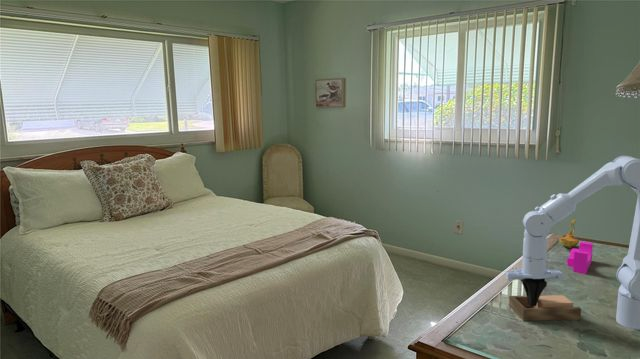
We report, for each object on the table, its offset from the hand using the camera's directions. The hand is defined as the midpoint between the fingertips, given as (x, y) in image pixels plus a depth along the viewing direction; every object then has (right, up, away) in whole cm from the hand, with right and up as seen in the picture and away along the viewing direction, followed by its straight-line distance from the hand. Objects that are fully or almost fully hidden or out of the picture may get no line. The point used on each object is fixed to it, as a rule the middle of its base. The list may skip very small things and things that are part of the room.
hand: (532, 304), depth 121 cm
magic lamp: (+39, +6, +52) cm, 65 cm away
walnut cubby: (+4, -2, 0) cm, 4 cm away
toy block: (+33, +3, +35) cm, 48 cm away
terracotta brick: (+6, -3, 0) cm, 6 cm away
